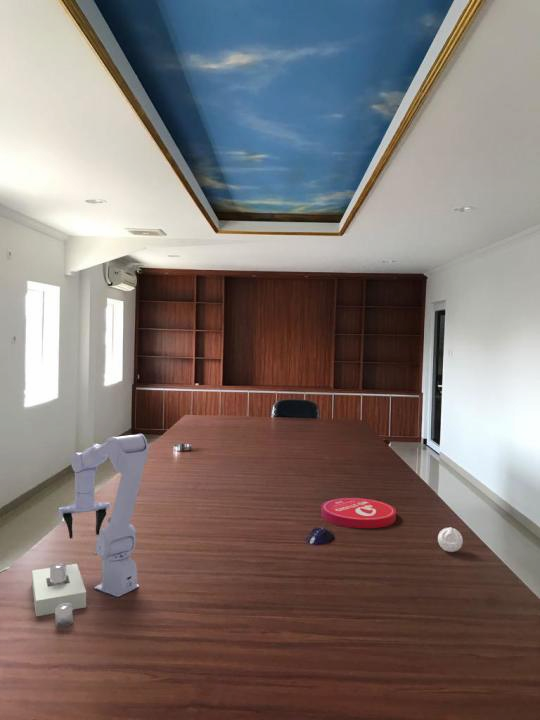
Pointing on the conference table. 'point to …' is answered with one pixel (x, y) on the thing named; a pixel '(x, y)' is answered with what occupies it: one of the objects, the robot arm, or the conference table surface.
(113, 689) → the conference table surface
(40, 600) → the pin board
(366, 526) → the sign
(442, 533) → the white ball
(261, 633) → the conference table surface
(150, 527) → the conference table surface
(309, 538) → the computer mouse
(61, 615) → the short pin
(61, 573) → the tall pin
